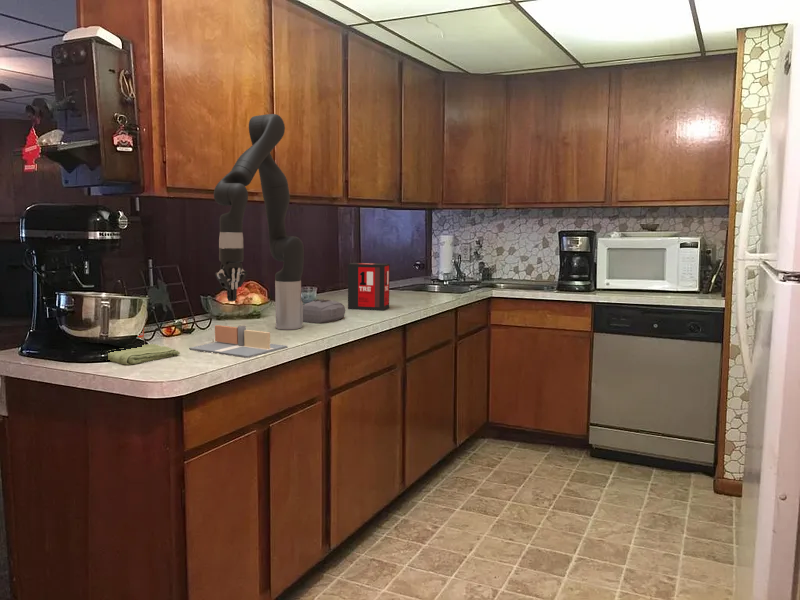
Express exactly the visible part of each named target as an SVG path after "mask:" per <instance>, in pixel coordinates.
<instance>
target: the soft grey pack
mask: <svg viewBox="0 0 800 600" xmlns="http://www.w3.org/2000/svg"><path fill="white" fill-rule="evenodd" d="M345 313H346V307H345V305H344V304H343V303H342V302H339V301H336V300H331V299H324V298H323V299H318V298H317V299H314V300H312V301H309V302H307V303H304V304H303V323H311V324H324V323H331V322H336V321H339V320H341V319H344V318H345Z"/></svg>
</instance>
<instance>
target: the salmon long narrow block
mask: <svg viewBox="0 0 800 600" xmlns="http://www.w3.org/2000/svg"><path fill="white" fill-rule="evenodd" d="M214 341H215V342H224V343H232V344H238V326H230V325H229V326H227V325H218V324H217V325H216V324H215V325H214Z"/></svg>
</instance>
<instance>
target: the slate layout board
mask: <svg viewBox="0 0 800 600" xmlns="http://www.w3.org/2000/svg"><path fill="white" fill-rule="evenodd" d="M237 327H238V344H232V343H224V342H217V341H215V342H210V343H206V344H201V345H196V346H192V347H189V348H188V349H190V351H196V350H198V352H203V351H205V352H204V353H210V352H213V353H212V354H217V353H219V355H224V354H226V356H231V355H233V357H240V358H247V359H249V358H252V357H257V356H260V355H264V354H267V353H271V352H274V351H279V350H283V349H286V348H288V345H284V344H276V343H271V332H270V331H269V332H268V331H261V330H254V329H247V326H245V325H238V326H237Z"/></svg>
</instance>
